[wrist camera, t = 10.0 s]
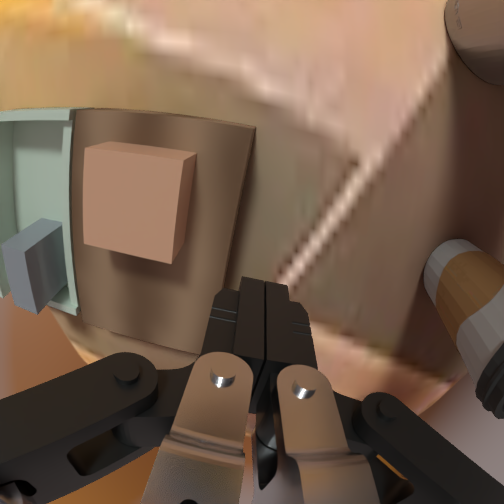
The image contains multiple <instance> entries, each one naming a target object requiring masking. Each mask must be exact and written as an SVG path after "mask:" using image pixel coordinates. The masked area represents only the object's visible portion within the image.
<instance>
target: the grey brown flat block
mask: <svg viewBox="0 0 504 504" xmlns="http://www.w3.org/2000/svg"><path fill="white" fill-rule="evenodd" d="M255 129H256V127H254V126H249V125H244V124H239V123H233V122H227V121H222V120H215V119H209V118H202V117H196V116H188V115H180V114H172V113H163V112H153V111H142V110H129V109H113V108H97V109H82V110H77V111H76V120H75V130H74V143H73V160H72V228H73V245H74V258H75V268H76V277H77V286H78V293H79V300H80V307H81V313H82V319H83V322H84V323H87V324H90V325H93V326H96V327H99V328H102V329H105V330H109V331H112V332H115V333H118V334H122V335H125V336H129V337H132V338H136V339H139V340H143V341H146V342H150V343H154V344H158V345H162V346H165V347H169V348H173V349H178V350H182V351H186V352H190V353H195V354H199V355H200V353H201V350H202V346H203V342H204V337H205V333H206V329H207V325H208V321H209V317H210V312H211V309H212V304H213V300H214V296H215V295H216V294H217V293H218V292H219V291H220V290H222V289H223V288H224V283H225V278H226V273H227V267H228V262H229V257H230V252H231V246H232V241H233V236H234V231H235V226H236V221H237V216H238V211H239V206H240V201H241V196H242V191H243V186H244V181H245V176H246V172H247V167H248V162H249V157H250V152H251V148H252V143H253V138H254V134H255ZM109 141H111V142H121V143H130V144H138V145H146V146H154V147H161V148H168V149H175V150H182V151H188V152H194V153H197V155H196V161H195V168H194V174H193V181H192V187H191V194H190V201H189V209H188V216H187V224H186V232H185V241H184V244H183V246H182V247H181V249H180V251H179V252H178V254H177V256H176V257H175V259H174V261H173V262H172V264H169V263H164V262H160V261H155V260H151V259H146V258H142V257H138V256H133V255H129V254H125V253H121V252H116V251H112V250H108V249H104V248H100V247H95V246H91V245H87V244H84V236H83V171H84V152H85V148H86V147H90V146H93V145H97V144H101V143H105V142H109Z"/></svg>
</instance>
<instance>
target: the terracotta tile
mask: <svg viewBox="0 0 504 504" xmlns="http://www.w3.org/2000/svg"><path fill="white" fill-rule="evenodd" d="M196 155H197V153H194V152H188V151H182V150H175V149H168V148H161V147H154V146H146V145H138V144H130V143H121V142H111V141H109V142H105V143H101V144H97V145H93V146H90V147H86V148H85V152H84V171H83V236H84V244H87V245H91V246H95V247H100V248H104V249H108V250H112V251H116V252H121V253H125V254H129V255H133V256H138V257H142V258H146V259H151V260H155V261H160V262H164V263H169V264H172V262H173V261H174V259H175V257H176V256H177V254H178V252H179V251H180V249H181V247H182V246H183V244H184V241H185V232H186V224H187V216H188V209H189V201H190V194H191V187H192V181H193V174H194V168H195V161H196Z"/></svg>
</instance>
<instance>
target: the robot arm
mask: <svg viewBox="0 0 504 504" xmlns="http://www.w3.org/2000/svg"><path fill="white" fill-rule="evenodd" d="M445 21H446V26H447V30H448V33H449V36H450V39H451V41H452V43H453V45H454V47H455V49H456V51H457V52H458V54H459V56H460V57H461V59H462V60H463V61H464V63H465V64H466V65H467V66H468V67H469V69H470V70H471V71H472V72H474V73H475V74H476V75H477V76H478V77H480V78H481V79H483V80H484V81H486V82H488V83H491V84H494V85H504V0H448V1H447V2H446V7H445ZM309 326H310V323H309V317H308V313H307V312H306V310H305V309H304V308H303V306H302V305H301V304H300V303H298V302H292V301H289V293H288V286H287V285H283V284H278V283H273V282H268V281H265V283H264V281H263V280H258V279H253V278H248V277H243V276H242V278H241V282H240V286H239V291H236V290H231V289H226V288H223V289H222V290H220V291H219V292H218V293H217V294H216V295H215V296H214V300H213V304H212V309H211V312H210V317H209V321H208V325H207V329H206V333H205V337H204V342H203V346H202V350H201V353H200V356H199V357H198V359H197V360H196V361H195V362H193V363H192V364H190V365H189V366H186V367H184V368H180V369H172V370H156V368H155V366H154V365H153V364H152V363H151V362H150V361H149V360H148V359H146V358H145V357H143V356H141V355H138V354H135V353H129V352H122V353H116V354H113V355H110V356H108V357H105V358H103V359H101V360H98V361H96V362H93V363H91V364H89V365H86V366H84V367H82V368H80V369H77V370H74V371H72V372H70V373H67V374H65V375H63V376H60V377H57V378H55V379H52V380H50V381H48V382H45V383H42V384H40V385H37V386H35V387H32V388H29V389H27V390H25V391H22V392H19V393H16V394H14V395H11V396H9V397H6V398H3V399H1V400H0V504H46V503H49V502H51V501H54V500H56V499H58V498H60V497H63V496H65V495H67V494H69V493H71V492H73V491H76V490H78V489H80V488H82V487H84V486H86V485H88V484H90V483H92V482H94V481H96V480H98V479H100V478H102V477H104V476H106V475H108V474H109V473H111V472H113V471H115V470H117V469H119V468H121V467H122V466H124V465H126V464H128V463H129V462H131V461H133V460H135V459H136V458H138V457H140V456H141V455H143V454H145V453H147V452H148V451H150V450H151V449H153V448H154V447H158V446H160V449H159V451H158V454H157V457H156V460H155V463H154V466H153V469H152V471H151V474H150V477H149V480H148V483H147V486H146V489H145V492H144V495H143V497H142V501H141V503H140V504H239V498H240V492H241V485H242V479H243V472H244V465H245V453H243V443H244V437H245V430H246V424H247V417H248V413H254V414H256V425H255V427H254V429H253V431H252V436H251V440H252V458H253V459H252V460H253V480H254V496H253V500H252V504H504V486H503V485H502V484H501V483H499V482H498V481H497V480H496V479H494V478H493V477H492V476H490V475H489V474H488V473H487V472H485V471H484V470H483V469H482V468H481V467H479V466H478V465H477V464H476V463H474V462H473V461H472V460H471V459H469V458H468V457H467V456H466V455H464V454H463V453H462V452H461V451H460V450H458V449H457V448H456V447H455V446H454V445H452V444H451V443H450V442H449V441H447V440H446V439H445V438H444V437H443V436H441V435H440V434H439V433H438V432H436V431H435V430H434V429H433V428H432V427H430V426H429V425H428V424H427V423H426V422H425V421H423V420H422V419H421V418H420V417H418V416H417V415H416V414H415V413H414V412H413V411H411V410H410V409H409V408H408V407H407V406H405V405H404V404H403V403H402V402H401V401H400V400H398V399H397V398H396V397H394V396H392V395H390V394H387V393H382V392H376V393H372V394H369V395H368V396H367V397H366V398H365V399H364V400H363V401H359V400H356V399H353V398H350V397H347V396H344V395H341V394H339V393H337V392H335V391H333V390H332V387H331V384H330V382H329V380H328V379H327V378H326V376H325V375H324V374H322V373H321V372H320V371H318V367H317V361H316V356H315V350H314V344H313V339H312V336H311V334H312V333H311V328H310V327H309ZM378 454H379V455H380V456H381V457H382V458H383V459H385V460H386V461H387V462H388V463H389V464H390V465H391V466H393V467H394V468H395V469H396V470H397V471H398V472H399V473H401V474H402V475H403V476H404V477H405V478H407V479H408V480H405V479H402V478H401V477H399V476H398V475H397V474H396V473H395V472H393V471H392V470H391V469H390V468H389V467H388V466H387V465H385V464H384V463H383V462H382V461H381V460H380V459H379V458H378V457H376V456H377V455H378Z"/></svg>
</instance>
